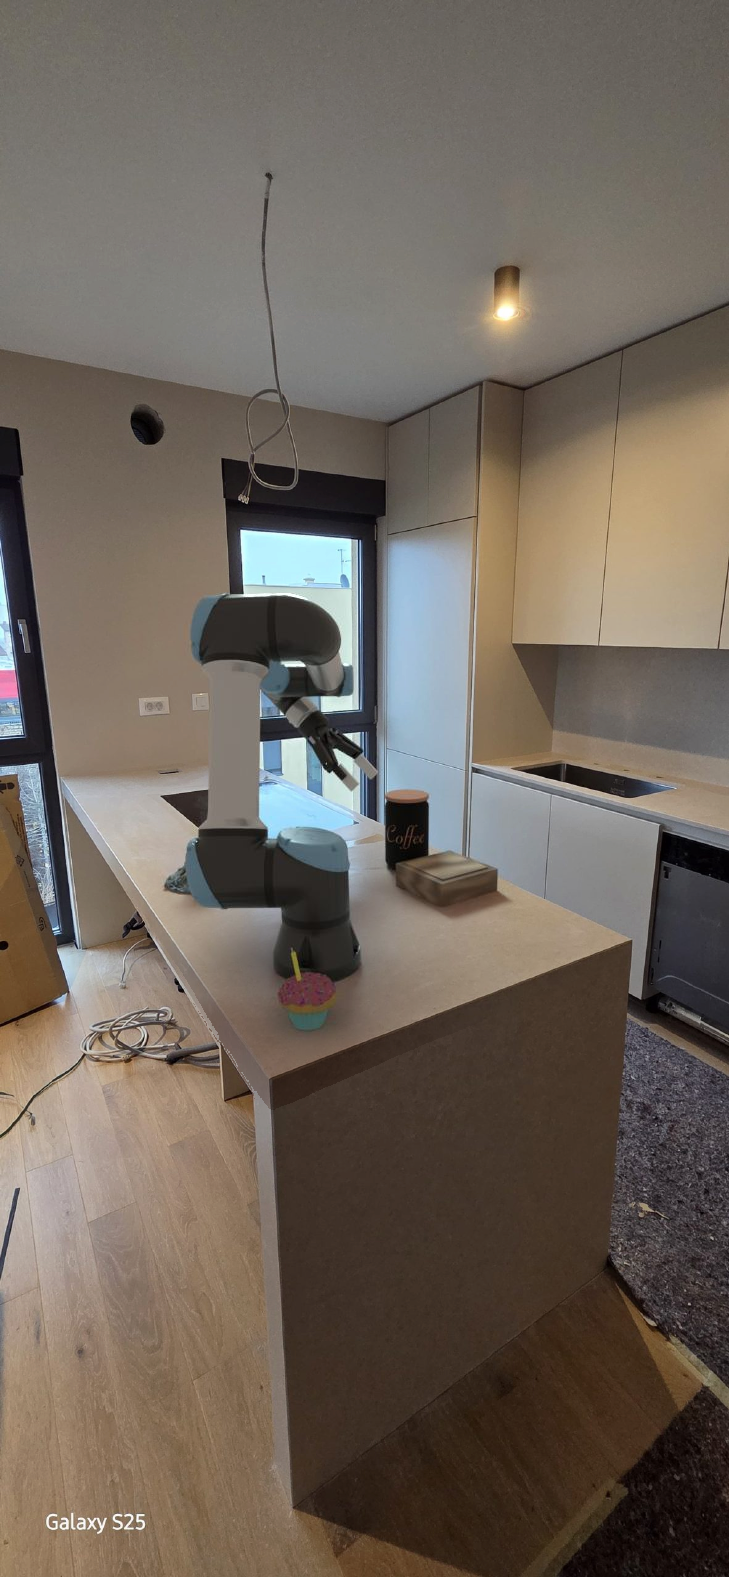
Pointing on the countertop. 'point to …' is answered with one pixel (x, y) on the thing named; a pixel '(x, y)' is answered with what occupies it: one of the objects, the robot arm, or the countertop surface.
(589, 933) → the countertop surface
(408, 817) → the coffee jar
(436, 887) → the wooden tray
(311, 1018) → the cupcake
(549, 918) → the countertop surface
